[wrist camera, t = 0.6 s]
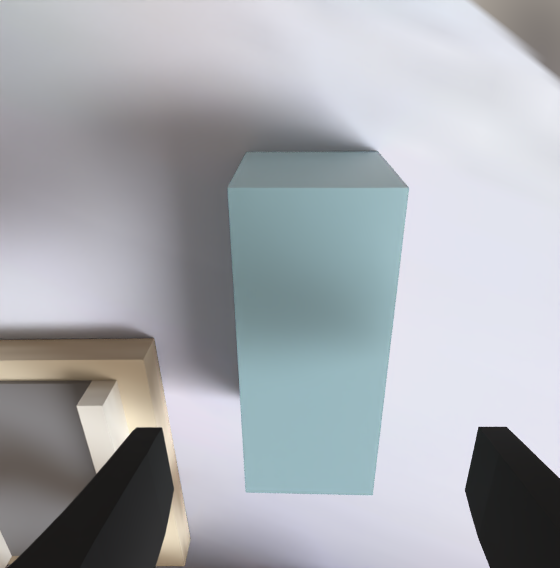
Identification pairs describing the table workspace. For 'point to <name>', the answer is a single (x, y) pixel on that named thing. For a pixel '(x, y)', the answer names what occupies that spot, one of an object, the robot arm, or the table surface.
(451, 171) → the table surface
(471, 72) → the table surface
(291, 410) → the light blue rectangular block
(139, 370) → the display stand
